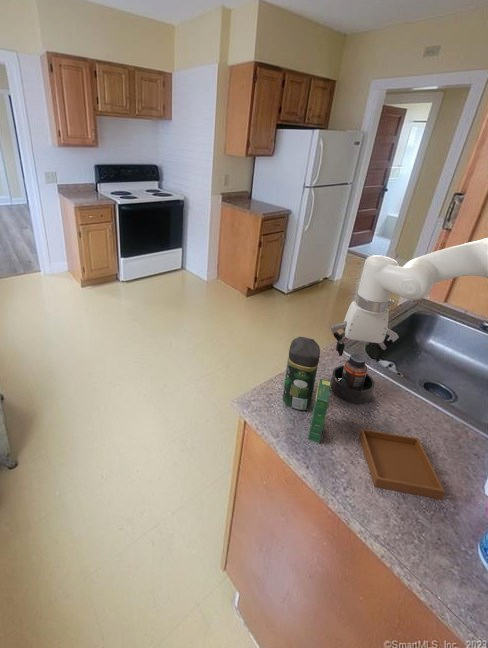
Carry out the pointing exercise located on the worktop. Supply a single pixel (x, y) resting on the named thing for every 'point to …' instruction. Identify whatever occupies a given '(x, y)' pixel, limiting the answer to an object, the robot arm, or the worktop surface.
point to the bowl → (348, 393)
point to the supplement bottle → (354, 372)
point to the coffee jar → (301, 373)
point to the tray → (399, 464)
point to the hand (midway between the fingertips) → (357, 355)
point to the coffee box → (319, 410)
